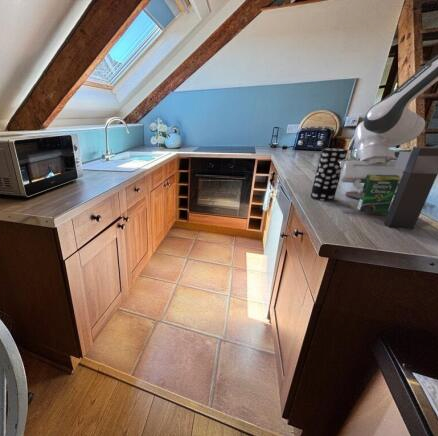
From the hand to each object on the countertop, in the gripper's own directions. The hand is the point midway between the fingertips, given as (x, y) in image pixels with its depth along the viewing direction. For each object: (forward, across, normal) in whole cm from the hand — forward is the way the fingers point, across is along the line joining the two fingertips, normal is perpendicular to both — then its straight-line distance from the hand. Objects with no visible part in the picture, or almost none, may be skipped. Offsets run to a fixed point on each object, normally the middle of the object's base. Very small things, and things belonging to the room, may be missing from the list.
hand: (378, 193), depth 82 cm
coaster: (-10, +6, +22) cm, 25 cm away
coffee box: (+5, 0, +6) cm, 7 cm away
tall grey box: (+10, +3, +1) cm, 11 cm away
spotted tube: (-7, -10, +18) cm, 22 cm away
